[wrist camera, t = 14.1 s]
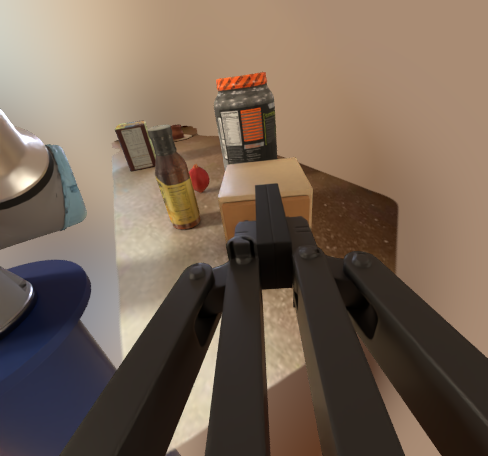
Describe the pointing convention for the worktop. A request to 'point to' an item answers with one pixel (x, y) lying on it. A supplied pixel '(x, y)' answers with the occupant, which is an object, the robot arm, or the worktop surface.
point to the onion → (199, 178)
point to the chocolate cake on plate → (178, 133)
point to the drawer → (247, 211)
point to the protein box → (136, 145)
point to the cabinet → (263, 181)
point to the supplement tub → (245, 119)
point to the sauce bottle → (174, 179)
